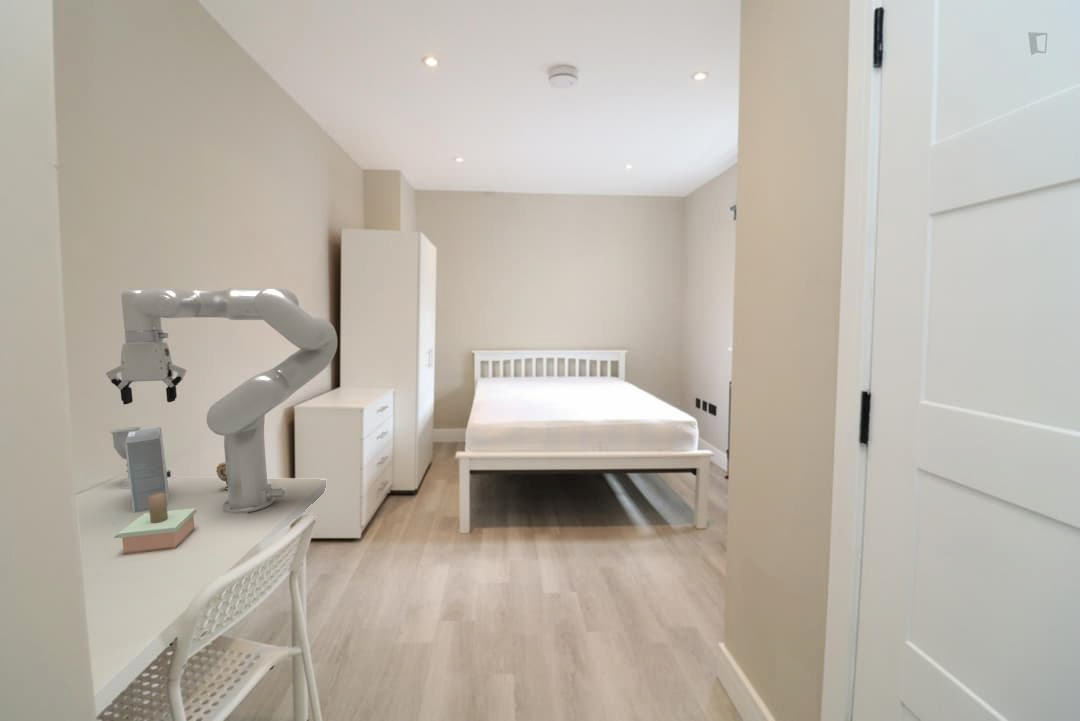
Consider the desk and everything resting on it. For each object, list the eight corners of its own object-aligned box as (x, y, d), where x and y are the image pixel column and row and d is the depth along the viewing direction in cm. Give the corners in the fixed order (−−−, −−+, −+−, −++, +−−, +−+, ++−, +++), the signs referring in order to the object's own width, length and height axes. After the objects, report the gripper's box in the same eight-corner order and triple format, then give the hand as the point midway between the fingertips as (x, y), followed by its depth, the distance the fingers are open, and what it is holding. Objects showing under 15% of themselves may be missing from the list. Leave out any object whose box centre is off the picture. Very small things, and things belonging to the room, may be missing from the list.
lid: (196, 512, 121) (194, 484, 120) (175, 531, 110) (172, 502, 109) (144, 517, 118) (141, 489, 117) (118, 537, 107) (114, 507, 107)
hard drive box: (136, 497, 143) (128, 430, 140) (168, 491, 147) (162, 426, 145) (132, 514, 130) (124, 442, 128) (168, 507, 135) (161, 437, 133)
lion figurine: (226, 494, 144) (224, 465, 143) (213, 493, 145) (210, 463, 144) (267, 477, 158) (265, 451, 157) (254, 476, 159) (252, 449, 158)
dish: (194, 530, 121) (193, 513, 120) (175, 549, 111) (173, 531, 110) (147, 535, 118) (146, 517, 118) (124, 555, 108) (122, 536, 108)
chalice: (120, 491, 147) (114, 433, 145) (112, 487, 151) (106, 430, 149) (150, 484, 153) (144, 428, 151) (141, 480, 157) (135, 425, 155)
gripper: (188, 336, 132) (193, 398, 134) (112, 337, 128) (118, 401, 129) (176, 337, 125) (182, 403, 127) (95, 339, 120) (102, 407, 122)
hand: (149, 402), depth 128 cm, fingers open, 9 cm apart
